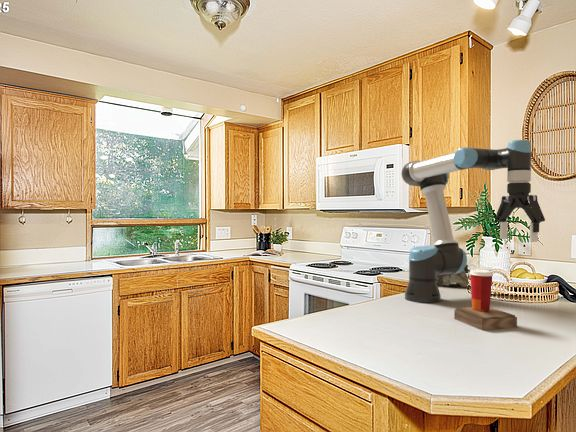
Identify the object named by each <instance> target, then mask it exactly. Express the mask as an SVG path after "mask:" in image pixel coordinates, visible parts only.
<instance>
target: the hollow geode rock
mask: <svg viewBox="0 0 576 432" xmlns="http://www.w3.org/2000/svg"><path fill="white" fill-rule="evenodd" d="M468 267H469V265H468V264H466V266H465V268H464V270H463V271H461V272H460V273H455V274H440V275H437V286H450V285H451V284H456V285H458V286H459V287H460V288H468V287H469V286H467V285H468V279H469V277H468V275H467V274H469V273H471V272H470V271H471V270H470V269H469V268H468Z"/></svg>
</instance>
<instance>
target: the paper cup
mask: <svg viewBox="0 0 576 432" xmlns="http://www.w3.org/2000/svg"><path fill="white" fill-rule="evenodd" d="M468 274H469V275H470V291H471V294H470V295H471V307H472V309H473V310H476V311H483V312H487V311H489V309H490V307H491V300H492V299H491V297H492V295H491V286H492V276H493V274H492V272H491V271H489V270H478V269H476V268H475V269H471V270H470V272H468Z"/></svg>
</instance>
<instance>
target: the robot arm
mask: <svg viewBox="0 0 576 432" xmlns="http://www.w3.org/2000/svg"><path fill="white" fill-rule="evenodd" d="M532 153H533V151H532V143H531V141H530V140H528V139H516V140H511V141H508V143H507V146H506V147H505V148H500V149H493V148H476V147H468V146H467V147H459V148H458V149H456V151H455V152H452V153H451V152H450V153H448V154H444V155H441V156H435V157H433V158H429V159H425V160H414V161H409V162H407V163H406V164H405V165H404V166H403V167H402V170H401V178H402V180H403V182H405V183H406V184H407V185H409V186H413V187H419V189H420V190H419V191H420V193H421V194H423V195H424V199H425V203H426V208H427V214H428V218H429V219H428V220H429V224H430V227H431V228H430V229H431V234H432V239H433V243H432V245H421V246H415V247H412V248H411V249H410V250H409V255H408V261H409V263H408V264H409V265H408V282H407V283H408V284H407V286H406V288H405V293H404V298H405V299H406V300H407V301H411V302H416V303H426V304H427V303H438V302H441V299H442V298H441V297H442V296H441V292H440V289H439V285H438V284H437V275H440V274H455V273H460V272H461V271H463V270H464V268H465V266H466V265H468V264H467V263H468V257H467V253H466V251H465V250H464V249H463V248H461V247H459V246H460V245H459V242H457V240H455V239H454V236H453V232H452V226H451V222H450V217H449V211H448V208H447V201H446V197H445V193H444V192H445V191H444V190H445V189H446V188H447V184H448V182H449V179H450V173H454V172H458V171H462V170H468V169H469V170H470V169H483V171H484V170H486V171H495V170H501V169H507V172H506V173H507V177H506V178H507V179H506V180H507V181H506V183H507V186H506V188H507V189H506V191H507V193H508V195H507V196H505V195H504V196H501V199H500V200H501V201H500V203H499V207H498V209H497V212H496V214H495V217H494V220H495V221H498V222H499V223H498V224H499V226H498V228H499V229H498V230H499V239H500V240H508V230H509V229H508V225H509V224H508V223H509V222H508V219H509V218H510V215H511V214H512V213H513V211H514V210H515V209H522V210H523V211H524V212H525V214H526V216H527V217H528V218H529V220H530V223H529V242H530V243H536V242H538V241H539V240H538V239H539V232H540V223H542V222H545V221H546V218H545V216H544V214H543V211H542V208H541V207H540V204H539V201H538V195H537V194H536V195H535V194H530V193H531V191H532V189H531V186H532V185H531V181H532V177H531V176H532V169H531V167H532Z"/></svg>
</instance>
